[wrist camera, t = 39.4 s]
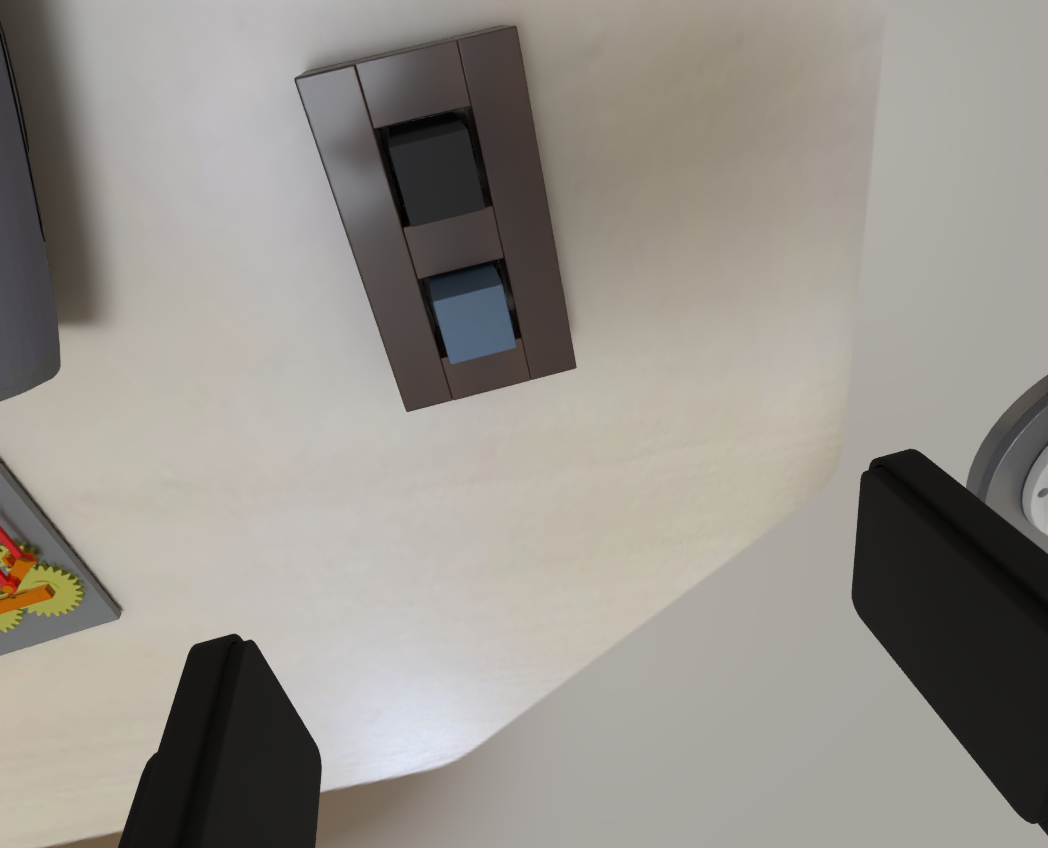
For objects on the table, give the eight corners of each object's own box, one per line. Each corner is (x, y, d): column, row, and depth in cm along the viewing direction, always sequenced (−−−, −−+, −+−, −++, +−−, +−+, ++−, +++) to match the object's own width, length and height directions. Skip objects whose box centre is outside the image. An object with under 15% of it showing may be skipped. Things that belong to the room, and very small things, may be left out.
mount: (502, 25, 31) (516, 25, 28) (560, 338, 39) (576, 368, 36) (303, 72, 31) (293, 77, 27) (404, 379, 39) (406, 413, 36)
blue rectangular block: (484, 244, 36) (502, 284, 30) (497, 300, 38) (516, 347, 32) (425, 259, 36) (432, 301, 30) (440, 315, 37) (450, 365, 32)
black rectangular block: (453, 111, 33) (467, 128, 27) (469, 179, 34) (485, 209, 29) (388, 126, 32) (388, 147, 27) (407, 194, 34) (411, 227, 29)
